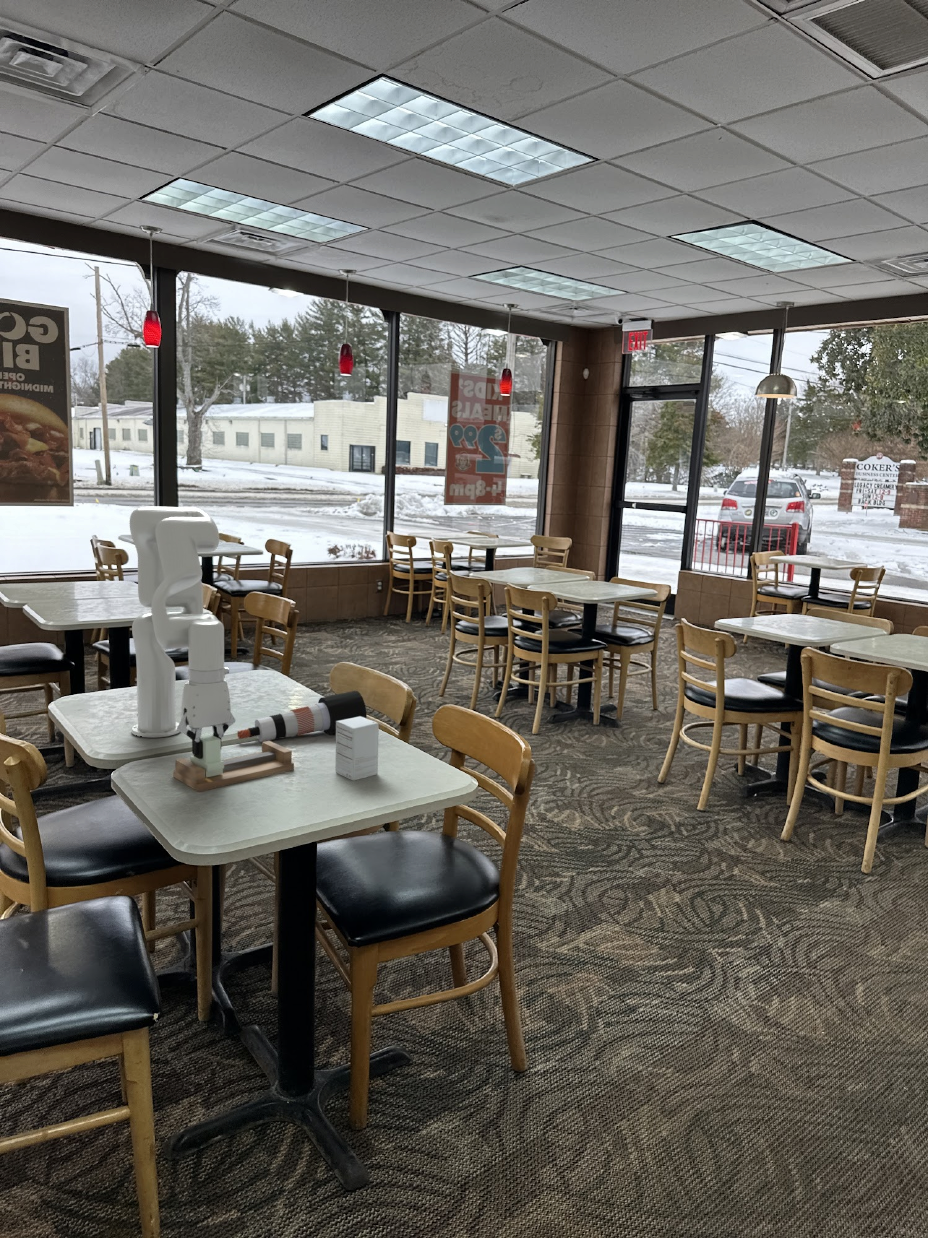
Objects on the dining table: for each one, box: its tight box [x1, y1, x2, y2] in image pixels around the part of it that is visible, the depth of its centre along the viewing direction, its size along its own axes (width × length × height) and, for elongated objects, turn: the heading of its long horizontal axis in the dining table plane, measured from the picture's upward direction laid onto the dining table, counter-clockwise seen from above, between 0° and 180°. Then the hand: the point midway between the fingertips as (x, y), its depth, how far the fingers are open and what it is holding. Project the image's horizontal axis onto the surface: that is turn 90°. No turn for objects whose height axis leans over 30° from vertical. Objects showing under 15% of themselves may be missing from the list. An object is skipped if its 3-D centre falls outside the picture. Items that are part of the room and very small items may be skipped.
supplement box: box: [334, 716, 380, 782], centre depth 200 cm, size 7×7×13 cm
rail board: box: [172, 740, 295, 793], centre depth 198 cm, size 12×24×4 cm, turn 134°
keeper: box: [189, 732, 224, 778], centre depth 192 cm, size 8×4×8 cm, turn 44°
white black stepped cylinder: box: [237, 690, 368, 743], centre depth 228 cm, size 10×34×10 cm, turn 121°
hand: (206, 754), depth 192 cm, fingers closed on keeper, 3 cm apart
